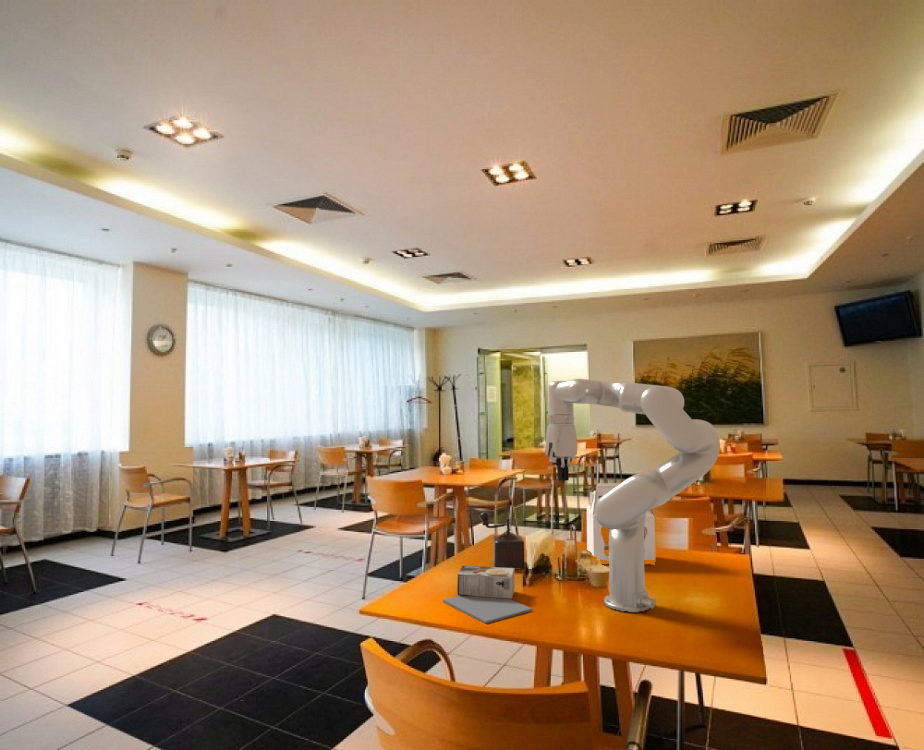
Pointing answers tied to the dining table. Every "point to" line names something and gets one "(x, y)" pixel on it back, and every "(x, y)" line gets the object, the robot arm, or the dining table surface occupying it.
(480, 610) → the mat
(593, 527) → the gable box
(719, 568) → the dining table surface
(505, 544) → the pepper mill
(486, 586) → the coffee box
